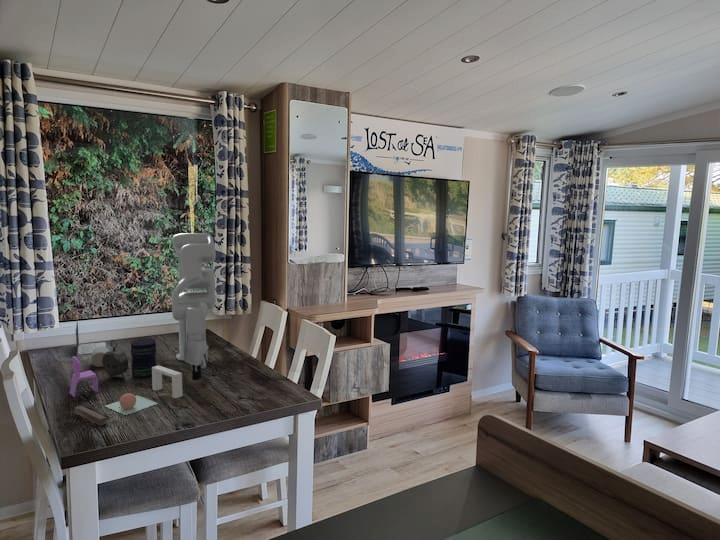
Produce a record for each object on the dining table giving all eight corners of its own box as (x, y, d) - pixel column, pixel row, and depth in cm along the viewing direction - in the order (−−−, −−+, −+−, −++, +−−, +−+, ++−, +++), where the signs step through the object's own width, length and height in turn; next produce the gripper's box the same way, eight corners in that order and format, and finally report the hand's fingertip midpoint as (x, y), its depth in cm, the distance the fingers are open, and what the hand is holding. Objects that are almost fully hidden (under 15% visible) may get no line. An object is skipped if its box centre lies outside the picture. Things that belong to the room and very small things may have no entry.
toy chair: (99, 393, 195) (98, 355, 193) (74, 399, 189) (72, 360, 187) (92, 387, 201) (90, 350, 199) (68, 392, 195) (66, 355, 192)
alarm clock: (129, 378, 211) (128, 340, 209) (118, 382, 207) (117, 343, 204) (111, 373, 216) (109, 337, 214) (100, 377, 211) (98, 340, 209)
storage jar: (151, 370, 222) (150, 337, 220) (160, 376, 215) (159, 342, 213) (128, 375, 215) (126, 341, 213) (137, 381, 208) (135, 346, 206)
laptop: (106, 353, 245) (105, 327, 243) (76, 356, 239) (75, 329, 238) (105, 343, 261) (104, 318, 259) (77, 346, 255) (76, 320, 253)
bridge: (159, 387, 202) (158, 365, 201) (182, 396, 194) (181, 373, 193) (152, 389, 199) (151, 367, 198) (175, 398, 192) (175, 375, 190)
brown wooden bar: (81, 412, 177) (80, 405, 177) (106, 424, 168) (106, 417, 168) (75, 414, 175) (74, 407, 175) (100, 426, 167) (100, 419, 166)
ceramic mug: (90, 368, 222) (90, 351, 221) (92, 363, 229) (92, 346, 228) (117, 366, 226) (117, 350, 225) (118, 361, 233) (118, 345, 232)
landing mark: (137, 395, 193) (137, 395, 193) (158, 403, 186) (158, 403, 186) (104, 406, 183) (104, 406, 182) (125, 415, 175) (125, 415, 175)
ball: (128, 407, 184) (132, 392, 185) (136, 411, 181) (141, 395, 182) (114, 406, 180) (119, 391, 181) (123, 410, 177) (127, 394, 178)
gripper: (176, 334, 207) (177, 378, 209) (200, 341, 198) (201, 386, 201) (191, 331, 213) (192, 373, 215) (215, 337, 205) (216, 380, 207)
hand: (196, 379), depth 208 cm, fingers closed
